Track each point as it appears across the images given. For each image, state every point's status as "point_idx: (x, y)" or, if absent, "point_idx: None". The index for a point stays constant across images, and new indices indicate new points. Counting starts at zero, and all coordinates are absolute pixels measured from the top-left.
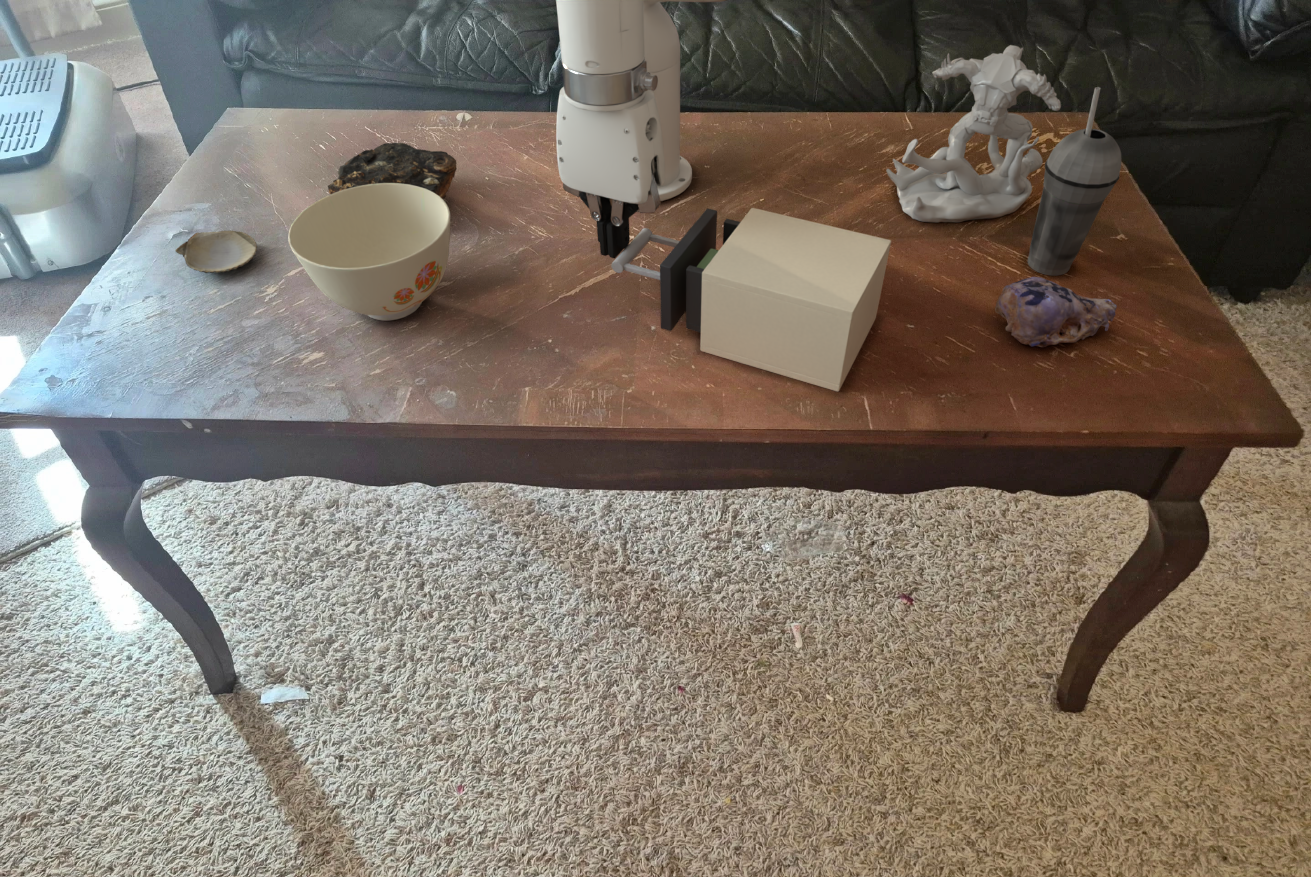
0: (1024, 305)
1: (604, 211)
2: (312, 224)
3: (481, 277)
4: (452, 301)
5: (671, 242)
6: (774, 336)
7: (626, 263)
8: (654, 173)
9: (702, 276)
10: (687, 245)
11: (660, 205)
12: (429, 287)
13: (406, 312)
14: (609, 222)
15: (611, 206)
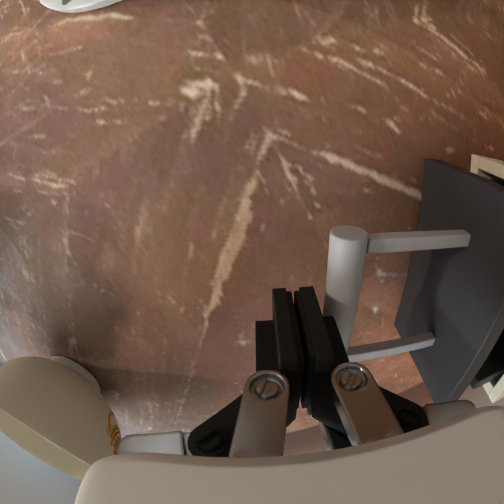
0: None
1: (287, 423)
2: (7, 421)
3: (85, 319)
4: (105, 362)
5: (422, 249)
6: None
7: (348, 357)
8: (498, 438)
9: (490, 398)
10: (485, 357)
11: (472, 404)
12: (117, 429)
13: (99, 391)
14: (304, 402)
15: (292, 399)
